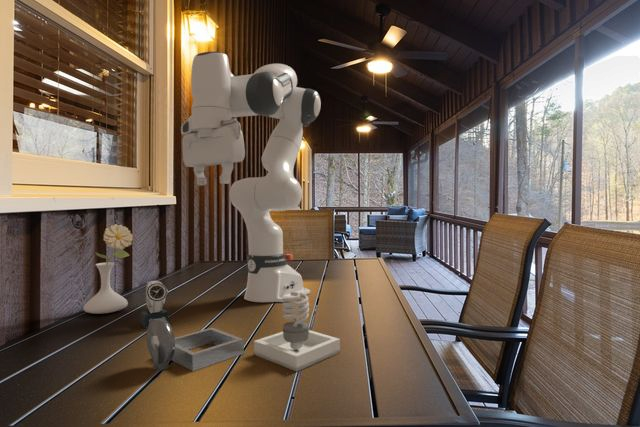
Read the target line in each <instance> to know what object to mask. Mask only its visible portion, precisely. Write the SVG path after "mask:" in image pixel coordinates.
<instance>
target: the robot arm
mask: <svg viewBox="0 0 640 427" xmlns="http://www.w3.org/2000/svg"><path fill="white" fill-rule="evenodd" d="M190 72H191V74H190V91H191V95H192V100H193V101H192V105H191V115H190V116H189V117H188V119H187V120H186V121H185V122H184V123H183V124H181V126H180V133H181V135H183V138H182V143H181V144H182V160H183V163H184V165H185V167H189V168H193V172H194V175H195V177H196V185H197V186H206V185H207V184H208V178H207V177H205V173H204V171H205V169H206V167H209V166H217V165H221V168H222V173H221V175H219V183H220V184H221V185H225V184H226V185H228V184H230V183H231V175H232V174H233V173H232V172H233V170H234V163H241V162H243V161H244V159H245V156H246V149H245V141H244V134H243V132H242V128H241V122H239V121H238V120H237V118H240V117H241V118H242V117H253V116H263V117H266V118H269V119H271V118H274V119H279V122H278V123H277V124H276V126H275V128H274V129H273V131H272V132H271V134H270V136H269V139H268V140H267V143H266V146H265V147H264V151H263V153H262V156H261V164H262V166H263V168H264V169H265V170H266V171H267V174H266V175H265V176H259V177H258V176H257V177H246V178H242V179H239V180H236V181H234V182H233V183H232V185H231V187H230V189H229V200H230V203H231V204H232V206H233V207H234V208H236V209H237V211H238V212H239V213H240V214H241V216H242V219H243V221H244V223H245V226H246V231H247V244H248V254H247V256H246V257H247V258H246V259H247V260H246V262H247V266H246V267H247V271H248V272H247V274H248V275H247V282H246V288H245V293H244V296H243V299H244V300H246V301H247V302H248V301H249V302H252V303H253V302H254V303H285V302H284V301H282V299H283V298H284V297H296V296H291V294H290V293H291V292H298V293H303V294H305V295H309V294H311V290H310V289H309V288H307V287H304V281H303V278H302V275H301V274H300V273H299V272H298V271H297V270H296V269H294V268H293V267H291V266H290V265H289V264H288V261H292V260H293V259H294V257H293V254H291V253H286V254H285V253H284V232H283V230H282V228H281V226H279V224H277V223H276V222H274V221H273V219H272V217H271V214H270V212H284V211H289V210H292V209H296V208H297V207H299V205H300V204H301V202H302V198H303V189H302V186H301V184H300V182H299V181H298V180H297V178H295V175H294V168H295V164H296V161H297V157H298V155H299V153H300V149H301V146H302V142H303V141H302V140H303V134H304V130H303V127H305V128H307V127H309V126H310V124H311V123H313V122H314V121H315V120H316V119H317V117H319V115H320V111H321V104H322V103H321V102H322V101H321V96H320V94H319V93H318V92H319V91H316V90H314V89H312V88H304V87H300V86H299V87H298V86H297V85H298V76H297V74H296V71H295V70H294V69H293V68H292V67H291V66H288V65H287V64H284V63H269V64H265V65H263V66H261V67H259V68H258V69H256V70H255V71H254V73H252V74H242V75H236V76H235V75H234V74H233V73H232V72H231V70H230V61H229V57H228V55H227V54H226V53H224V52H221V51H211V50H210V51H203V52H199V53H196V55H195V56H194V57H193V60H192V65H191V71H190Z"/></svg>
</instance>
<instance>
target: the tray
mask: <svg viewBox="0 0 640 427" xmlns="http://www.w3.org/2000/svg"><path fill="white" fill-rule="evenodd" d="M302 343H303V344H302V347H301V348H300V349H299V350H297V351H295V350H294V349H292V348H291V347H290V342H287V341H285V340H284V336H283V331H280V332H277V333H275V334H270V335H268V336H264V337H262V338H259V339H255V340H253V355H254V356H256V357H259V358H261V359H264V360H267V361H270V363H275V364H277V365H279V366H282V367H284V368H287V369H288V370H292V371H295V372H299V371H301V370H303V369H306V368H308V367H310V366H312V365H315V364H318V363H320V362H321V361H325V360H326V359H328V358H331V357H333V356H335V355H338V354H340V353H341V339H340V338H338V337H335V336H331V335H327V334H324V333H320V332H317V331H314V330H311V329H309V337H308V339H307V340H306V341H303V342H302Z"/></svg>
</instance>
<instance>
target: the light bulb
mask: <svg viewBox="0 0 640 427" xmlns="http://www.w3.org/2000/svg"><path fill="white" fill-rule="evenodd" d="M290 294H291V296H296V297H284V298H283V299H282V301H284V302H282V303H281V307H282V309H281V312H282V313H283V314H282V318H283V319H285V320H288V319H290V320H291V319H292V320H291V321H288V322H285V323H284V324H283V326H282V332H283V336H284V340H285V341H287V342H290V347H291V348H292V349H294V350H295V351H297V350H299V349H300V348H301V347H302V344H303V343H302V342H303V341H306V340H307V339H308V337H309V330H310V325H309V323H308V322H306V320H307V319H309V312H310V308H309V306H310V302H309V299H310V298H309V296H308V294H306V295H305V294H303V293H298V292H291V293H290ZM301 297H302V298H301ZM294 313H295V314H294ZM293 319H294V320H293Z"/></svg>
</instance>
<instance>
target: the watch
mask: <svg viewBox="0 0 640 427" xmlns="http://www.w3.org/2000/svg"><path fill="white" fill-rule="evenodd" d="M168 294H169V290H168V288H167V287H166V286H165V285H164V284H163V283H162V281H159V280H150V281H147V282H146V286H145V303H146V307H147V309H148V310H146V311H145V310H144V311H141V312H140V325H141V326H142V327H144V328H145V329H147V328H146V327H148V325H149V323H150V322H151V321H153V320H157V319H161V318H163V319H166V320H167V321H168V322H169V312H168V310H166V309H165V308H163V306H164V304H165V302H166V297H167V295H168Z"/></svg>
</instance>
